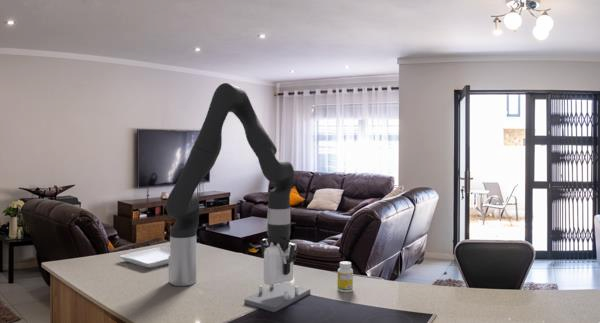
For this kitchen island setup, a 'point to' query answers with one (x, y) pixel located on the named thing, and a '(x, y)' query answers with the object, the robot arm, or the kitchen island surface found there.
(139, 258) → the salad plate
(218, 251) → the kitchen island surface
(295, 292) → the pin tray
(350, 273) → the supplement bottle
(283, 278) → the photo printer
